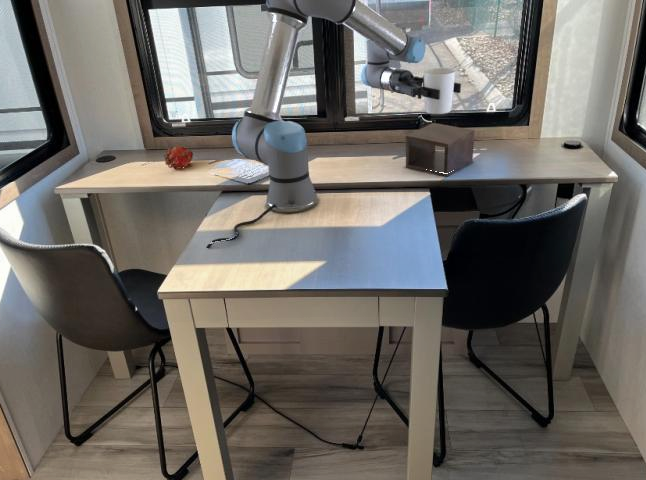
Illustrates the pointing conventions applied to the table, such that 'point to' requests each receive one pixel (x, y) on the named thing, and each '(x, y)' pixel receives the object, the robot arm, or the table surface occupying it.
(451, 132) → the dark brown cubby box
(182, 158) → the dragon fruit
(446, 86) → the candle holder
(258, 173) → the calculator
